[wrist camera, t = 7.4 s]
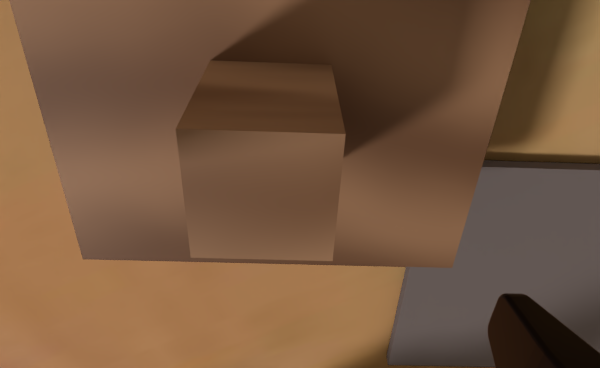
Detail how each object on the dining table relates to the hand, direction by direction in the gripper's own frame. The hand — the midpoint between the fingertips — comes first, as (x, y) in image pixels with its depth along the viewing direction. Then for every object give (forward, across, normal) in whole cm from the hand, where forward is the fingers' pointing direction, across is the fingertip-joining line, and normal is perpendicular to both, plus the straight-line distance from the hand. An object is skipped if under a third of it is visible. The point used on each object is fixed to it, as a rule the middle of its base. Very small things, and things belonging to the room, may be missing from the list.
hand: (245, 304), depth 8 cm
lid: (+8, 0, 0) cm, 8 cm away
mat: (+12, -15, +11) cm, 22 cm away
